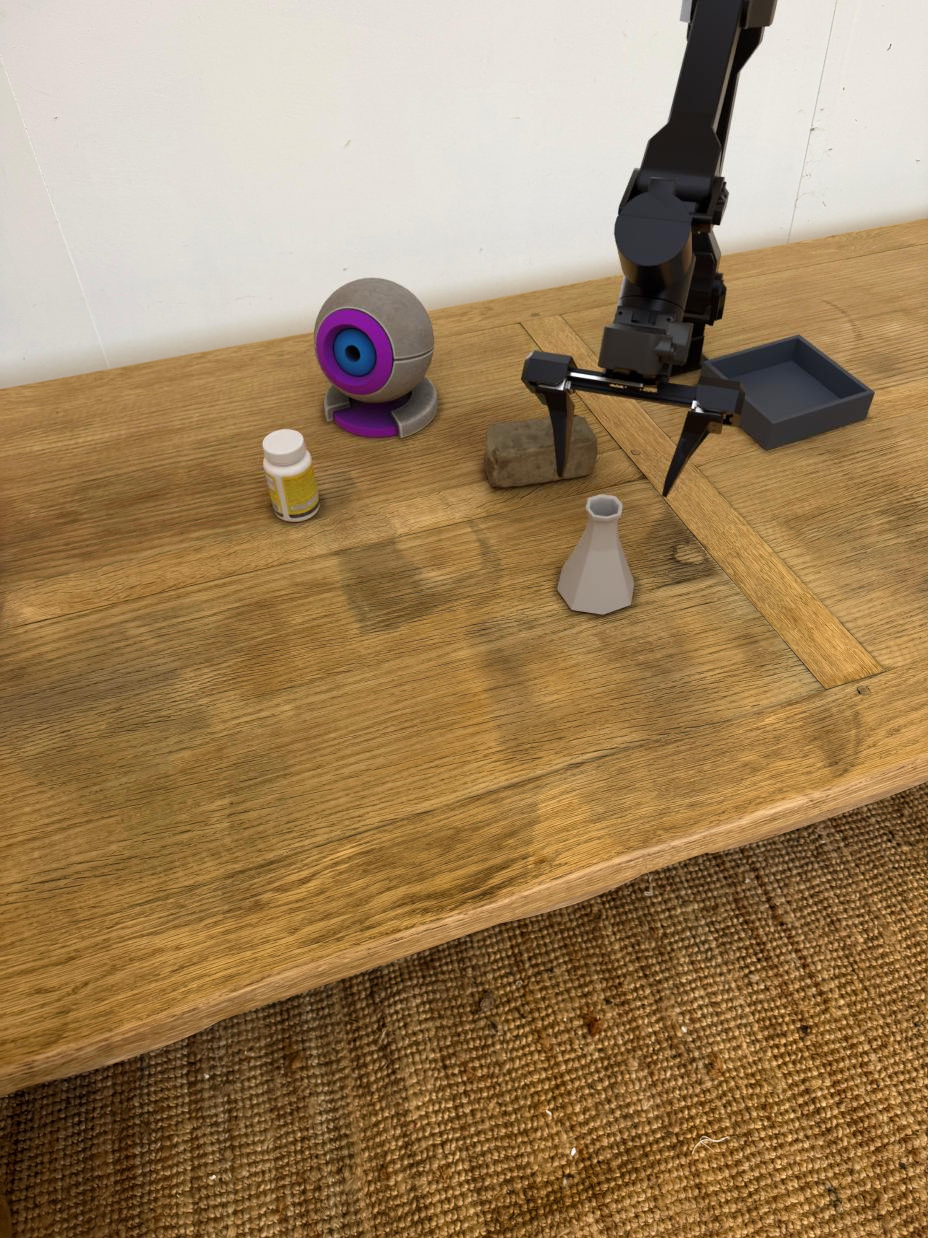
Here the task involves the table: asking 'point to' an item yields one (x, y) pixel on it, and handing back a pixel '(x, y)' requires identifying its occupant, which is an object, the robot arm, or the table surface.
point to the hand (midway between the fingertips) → (611, 486)
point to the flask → (598, 562)
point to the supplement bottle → (290, 476)
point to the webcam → (376, 359)
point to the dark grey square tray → (791, 391)
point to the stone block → (535, 452)
